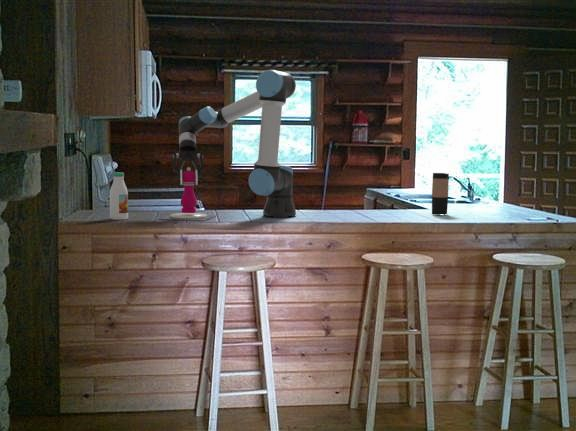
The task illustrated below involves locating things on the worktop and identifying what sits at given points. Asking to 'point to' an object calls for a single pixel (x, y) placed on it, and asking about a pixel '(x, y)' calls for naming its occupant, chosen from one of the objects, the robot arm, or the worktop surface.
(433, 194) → the travel mug
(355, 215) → the worktop surface
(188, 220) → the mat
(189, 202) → the pepper mill
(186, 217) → the plate
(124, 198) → the milk bottle
